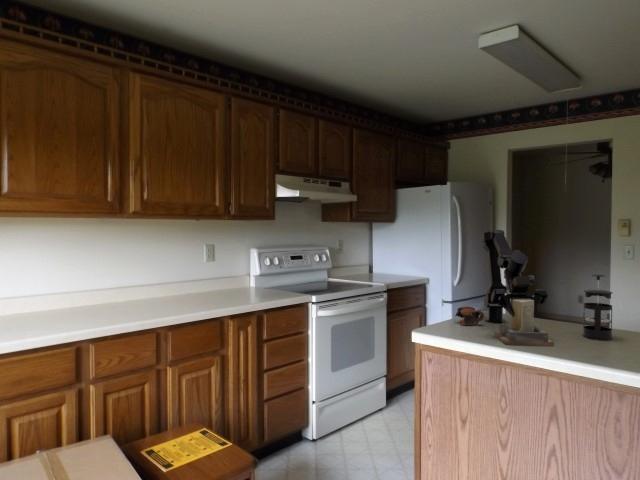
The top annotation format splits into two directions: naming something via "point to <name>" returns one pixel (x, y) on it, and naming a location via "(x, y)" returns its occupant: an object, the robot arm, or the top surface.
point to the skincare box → (523, 315)
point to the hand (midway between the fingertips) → (524, 316)
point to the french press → (597, 315)
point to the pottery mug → (469, 315)
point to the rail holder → (523, 337)
